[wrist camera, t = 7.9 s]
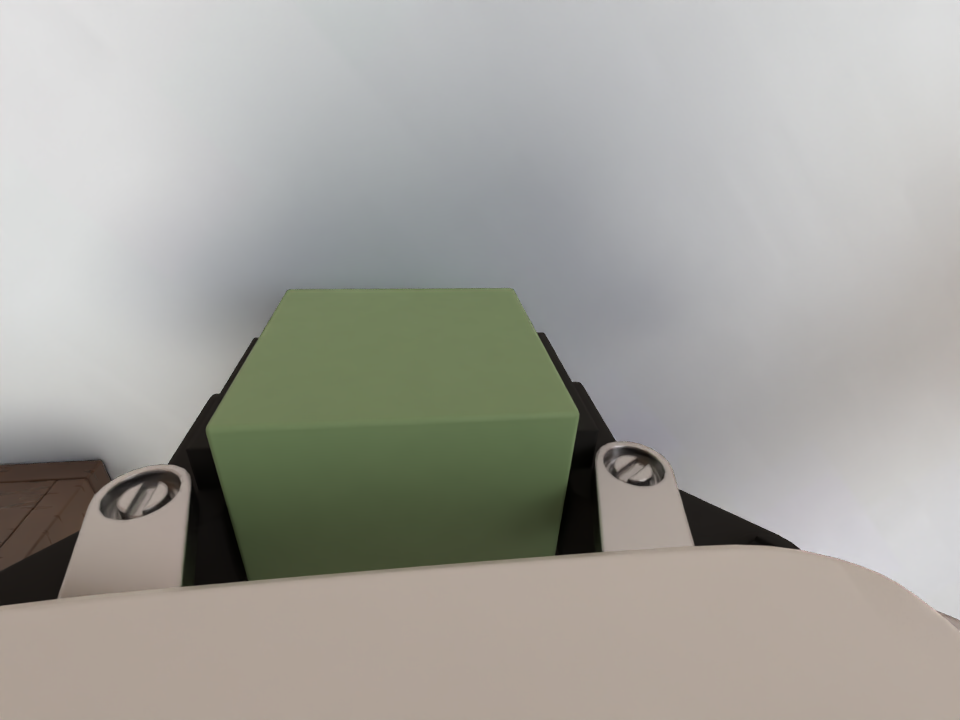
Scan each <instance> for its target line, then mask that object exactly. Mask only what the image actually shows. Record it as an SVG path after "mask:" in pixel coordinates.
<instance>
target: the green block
mask: <svg viewBox="0 0 960 720" xmlns="http://www.w3.org/2000/svg"><path fill="white" fill-rule="evenodd" d="M578 421H579V411H578V409H577V407H576V405H575V404H574V402H573V400H572V398H571V396H570V394H569V392H568V390H567V389H566V387H565V385H564V383H563V381H562V379H561V377H560V375H559V374H558V372H557V370H556V368H555V366H554V364H553V362H552V361H551V359H550V357H549V355H548V353H547V351H546V349H545V347H544V346H543V344H542V342H541V340H540V338H539V336H538V334H537V332H536V331H535V329H534V327H533V325H532V323H531V321H530V319H529V318H528V316H527V314H526V312H525V310H524V308H523V306H522V304H521V303H520V301H519V299H518V297H517V295H516V293H515V291H514V290H513V289H511V288H456V289H289V290H287V291H286V293H285V295H284V296H283V298H282V300H281V301H280V303H279V305H278V306H277V308H276V310H275V311H274V313H273V315H272V317H271V318H270V320H269V322H268V323H267V325H266V327H265V328H264V330H263V332H262V333H261V335H260V337H259V338H258V340H257V342H256V344H255V345H254V347H253V349H252V350H251V352H250V354H249V355H248V357H247V359H246V360H245V362H244V364H243V365H242V367H241V369H240V371H239V372H238V374H237V376H236V377H235V379H234V381H233V382H232V384H231V386H230V387H229V389H228V391H227V392H226V394H225V396H224V398H223V399H222V401H221V403H220V404H219V406H218V408H217V409H216V411H215V413H214V414H213V416H212V418H211V419H210V421H209V423H208V425H207V427H206V435H207V438H208V442H209V445H210V449H211V452H212V456H213V459H214V463H215V466H216V470H217V473H218V477H219V480H220V484H221V487H222V491H223V494H224V498H225V501H226V505H227V508H228V512H229V515H230V519H231V522H232V526H233V529H234V533H235V536H236V540H237V543H238V547H239V550H240V554H241V557H242V561H243V564H244V568H245V571H246V575H247V578H248V581H255V580H266V579H277V578H289V577H300V576H311V575H323V574H335V573H347V572H359V571H371V570H383V569H395V568H407V567H419V566H431V565H444V564H456V563H468V562H480V561H493V560H506V559H519V558H532V557H545V556H555V552H556V546H557V540H558V534H559V529H560V523H561V517H562V512H563V506H564V500H565V495H566V489H567V483H568V477H569V472H570V466H571V460H572V455H573V449H574V443H575V438H576V432H577V426H578Z"/></svg>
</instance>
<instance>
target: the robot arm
mask: <svg viewBox="0 0 960 720" xmlns="http://www.w3.org/2000/svg"><path fill="white" fill-rule="evenodd" d="M537 334H538V336H539V338H540V340H541V342H542V344H543V346H544V347H545V349H546V351H547V353H548V355H549V357H550V359H551V361H552V362H553V364H554V366H555V368H556V370H557V372H558V374H559V375H560V377H561V379H562V381H563V383H564V385H565V387H566V389H567V390H568V392H569V394H570V396H571V398H572V400H573V402H574V404H575V405H576V407H577V409H578V411H579V421H578V426H577V432H576V438H575V443H574V449H573V455H572V460H571V466H570V472H569V477H568V483H567V489H566V495H565V500H564V506H563V512H562V517H561V523H560V529H559V534H558V540H557V546H556V552H555V556H545V557H532V558H519V559H506V560H493V561H480V562H468V563H456V564H444V565H431V566H419V567H407V568H395V569H383V570H371V571H359V572H347V573H335V574H323V575H311V576H300V577H289V578H277V579H266V580H255V581H248V578H247V575H246V571H245V568H244V564H243V561H242V557H241V554H240V550H239V547H238V543H237V540H236V536H235V533H234V529H233V526H232V522H231V519H230V515H229V512H228V508H227V505H226V501H225V498H224V494H223V491H222V487H221V484H220V480H219V477H218V473H217V470H216V466H215V463H214V459H213V456H212V452H211V449H210V445H209V442H208V438H207V435H206V427H207V425H208V423H209V421H210V419H211V418H212V416H213V414H214V413H215V411H216V409H217V408H218V406H219V404H220V403H221V401H222V399H223V398H224V396H225V394H226V392H227V391H228V389H229V387H230V386H231V384H232V382H233V381H234V379H235V377H236V376H237V374H238V372H239V371H240V369H241V367H242V365H243V364H244V362H245V360H246V359H247V357H248V355H249V354H250V352H251V350H252V349H253V347H254V345H255V344H256V342H257V340H258V338H254V339H253V340H252V342H251V344H250V345H249V347H248V348H247V350H246V352H245V353H244V355H243V357H242V358H241V360H240V362H239V363H238V365H237V366H236V368H235V370H234V371H233V373H232V375H231V376H230V378H229V380H228V381H227V383H226V384H225V386H224V388H223V389H222V391H221V393H220V394H214V395H212V396H211V397H210V399H209V400H208V402H207V403H206V405H205V406H204V408H203V410H202V411H201V413H200V414H199V416H198V417H197V419H196V421H195V422H194V424H193V425H192V427H191V428H190V430H189V432H188V433H187V435H186V436H185V438H184V439H183V441H182V443H181V444H180V446H179V447H178V449H177V451H176V452H175V454H174V455H173V457H172V458H171V460H170V462H169V463H168V465H167V464H159V465H151V466H146V467H142V468H139V469H135V470H132V471H130V472H128V473H125V474H123V475H121V476H119V477H117V478H115V479H114V480H112V481H111V482H109V483H108V484H106V485H105V486H104V487H102V488H101V489H100V490H99V491H98V492H97V493H96V494H95V495H94V497H93V498H92V500H91V502H90V504H89V505H88V508H87V511H86V514H85V517H84V520H83V523H82V526H81V529H80V531H78V532H76V533H74V534H72V535H70V536H68V537H66V538H64V539H62V540H60V541H58V542H56V543H54V544H52V545H50V546H48V547H46V548H44V549H42V550H40V551H38V552H36V553H35V554H33V555H31V556H29V557H27V558H25V559H23V560H21V561H19V562H17V563H15V564H13V565H11V566H9V567H7V568H5V569H3V570H1V571H0V720H960V620H958V619H956V618H953V617H951V616H949V615H946V614H944V613H941V612H939V611H936V610H934V609H933V608H932V607H931V606H929V605H928V604H927V603H925V602H924V601H923V600H922V599H920V598H919V597H918V596H916V595H915V594H913V593H912V592H910V591H909V590H907V589H906V588H905V587H903V586H902V585H900V584H898V583H897V582H895V581H893V580H891V579H889V578H888V577H886V576H884V575H882V574H880V573H878V572H875V571H873V570H870V569H867V568H865V567H862V566H860V565H857V564H854V563H851V562H848V561H844V560H841V559H838V558H834V557H830V556H825V555H821V554H817V553H813V552H808V551H804V550H800V549H799V548H798V547H797V546H795V545H794V544H793V543H792V542H790V541H788V540H786V539H784V538H783V537H781V536H779V535H777V534H775V533H773V532H771V531H768V530H766V529H764V528H762V527H760V526H758V525H755V524H753V523H751V522H749V521H747V520H745V519H742V518H740V517H738V516H736V515H734V514H732V513H729V512H727V511H725V510H723V509H721V508H719V507H716V506H714V505H712V504H710V503H708V502H706V501H703V500H701V499H699V498H697V497H695V496H692V495H690V494H688V493H686V492H684V491H682V490H679V489H678V486H677V482H676V479H675V475H674V472H673V469H672V467H671V465H670V463H669V462H668V461H667V460H666V459H665V458H664V457H663V456H662V455H661V454H660V453H658V452H656V451H655V450H653V449H652V448H649V447H647V446H644V445H642V444H638V443H634V442H629V441H615V439H614V437H613V436H612V434H611V432H610V431H609V429H608V427H607V426H606V424H605V422H604V421H603V419H602V417H601V415H600V414H599V412H598V410H597V409H596V407H595V405H594V404H593V402H592V400H591V399H590V397H589V395H588V394H587V392H586V390H585V389H584V387H583V385H582V384H581V383H579V382H572V381H571V379H570V378H569V376H568V374H567V372H566V371H565V369H564V367H563V365H562V363H561V362H560V360H559V358H558V356H557V355H556V353H555V351H554V349H553V347H552V346H551V344H550V342H549V340H548V339H547V337H546V335H545V334H544V332H543V333H537Z"/></svg>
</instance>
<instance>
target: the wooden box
mask: <svg viewBox="0 0 960 720" xmlns="http://www.w3.org/2000/svg"><path fill="white" fill-rule="evenodd" d="M109 482H111V480H110V478H109V476H108V473H107V471H106V469H105V467H104V465H103V463H102V461H100V460H93V461H73V462H53V463H33V464H13V465H0V571H1V570H3V569H5V568H7V567H9V566H11V565H13V564H15V563H17V562H19V561H21V560H23V559H25V558H27V557H29V556H31V555H33V554H35V553H36V552H38V551H40V550H42V549H44V548H46V547H48V546H50V545H52V544H54V543H56V542H58V541H60V540H62V539H64V538H66V537H68V536H70V535H72V534H74V533H76V532H78V531H80V529H81V526H82V523H83V520H84V517H85V514H86V511H87V508H88V505H89V504H90V502H91V500H92V498H93V497H94V495H95V494H96V493H97V492H98V491H99V490H100V489H101V488H102V487H104V486H105V485H106V484H108V483H109Z"/></svg>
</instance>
